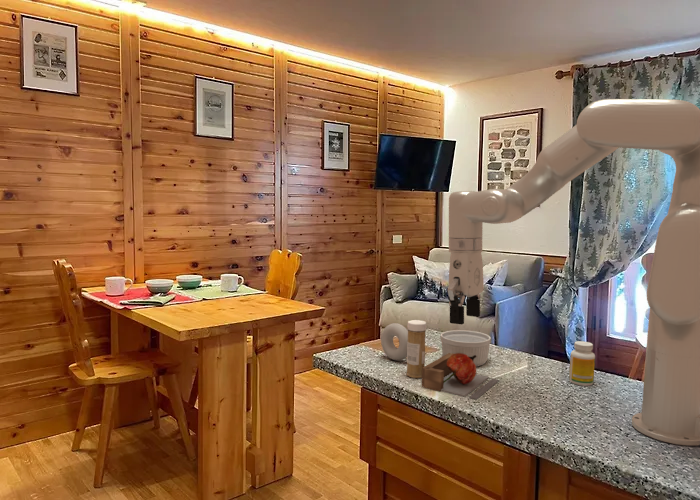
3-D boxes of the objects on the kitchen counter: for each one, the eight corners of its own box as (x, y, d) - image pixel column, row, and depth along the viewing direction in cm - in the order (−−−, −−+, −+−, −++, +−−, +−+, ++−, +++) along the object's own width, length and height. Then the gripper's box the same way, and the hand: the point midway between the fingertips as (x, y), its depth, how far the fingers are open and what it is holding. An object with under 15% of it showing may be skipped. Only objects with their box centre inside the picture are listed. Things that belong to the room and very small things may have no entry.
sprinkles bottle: (428, 376, 126) (430, 322, 125) (414, 379, 124) (415, 324, 122) (416, 371, 130) (417, 318, 129) (402, 374, 127) (403, 320, 126)
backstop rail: (466, 373, 129) (467, 356, 129) (440, 391, 116) (441, 372, 116) (448, 369, 132) (449, 352, 131) (421, 386, 119) (421, 368, 118)
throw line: (499, 380, 124) (499, 379, 124) (476, 399, 112) (476, 398, 112) (492, 379, 125) (492, 378, 125) (469, 397, 113) (469, 397, 113)
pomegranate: (454, 398, 117) (490, 372, 117) (434, 372, 117) (470, 346, 117) (449, 390, 124) (483, 366, 124) (431, 365, 125) (464, 341, 124)
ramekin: (429, 359, 140) (430, 334, 139) (458, 351, 149) (459, 327, 148) (471, 372, 130) (472, 345, 130) (499, 362, 139) (500, 336, 138)
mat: (488, 378, 126) (488, 376, 126) (465, 396, 113) (465, 395, 113) (456, 371, 130) (456, 370, 130) (429, 388, 118) (430, 386, 118)
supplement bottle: (565, 378, 127) (567, 340, 126) (586, 378, 127) (589, 340, 126) (575, 386, 121) (577, 346, 120) (597, 386, 122) (600, 346, 121)
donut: (414, 363, 136) (415, 325, 136) (405, 365, 134) (406, 327, 133) (386, 354, 144) (387, 319, 143) (377, 357, 141) (378, 321, 140)
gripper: (466, 248, 109) (466, 328, 110) (494, 243, 123) (493, 315, 125) (434, 247, 113) (434, 324, 115) (464, 243, 128) (464, 312, 129)
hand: (465, 319), depth 120 cm, fingers open, 9 cm apart
